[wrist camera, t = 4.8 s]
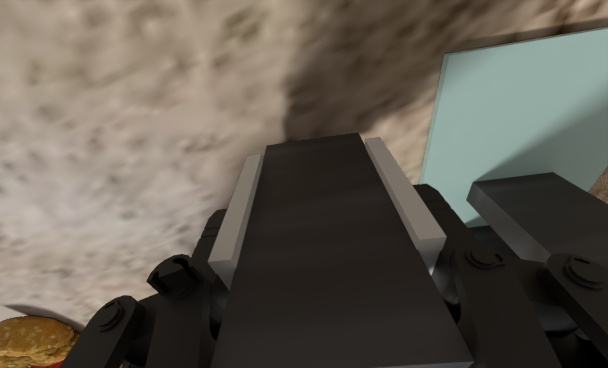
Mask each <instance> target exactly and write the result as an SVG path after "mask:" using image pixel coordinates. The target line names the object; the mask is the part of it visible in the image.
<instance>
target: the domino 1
mask: <svg viewBox="0 0 608 368" xmlns="http://www.w3.org/2000/svg"><path fill="white" fill-rule="evenodd" d="M474 362H475V361H474V359H473V357H472V355H471V353H470V351H469V349H468V347H467V345H466V343H465V341H464V339H463V337H462V335H461V333H460V331H459V329H458V327H457V326H456V324H455V322H454V320H453V318H452V316H451V314H450V312H449V310H448V308H447V306H446V304H445V302H444V300H443V298H442V296H441V294H440V292H439V290H438V288H437V286H436V284H435V282H434V280H433V278H432V276H431V274H430V272H429V271H428V269H427V267H426V265H425V263H424V261H423V259H422V257H421V255H420V253H419V251H418V250H417V249H416V247H415V245H414V243H413V241H412V239H411V237H410V235H409V233H408V231H407V229H406V227H405V225H404V223H403V221H402V219H401V217H400V215H399V213H398V211H397V209H396V207H395V205H394V204H393V202H392V200H391V198H390V196H389V194H388V192H387V190H386V188H385V186H384V184H383V182H382V180H381V178H380V176H379V174H378V172H377V170H376V168H375V166H374V164H373V162H372V160H371V158H370V156H369V154H368V152H367V150H366V148H365V145H364V143H363V141H362V139H361V137H360V135H359V133H351V134H344V135H337V136H330V137H323V138H316V139H309V140H302V141H295V142H288V143H282V144H275V145H268V146H267V147H266V151H265V155H264V159H263V164H262V168H261V172H260V176H259V180H258V184H257V188H256V192H255V196H254V200H253V204H252V208H251V212H250V216H249V220H248V224H247V228H246V232H245V235H244V239H243V243H242V247H241V251H240V255H239V259H238V263H237V267H236V268H235V272H234V276H233V279H232V283H231V287H230V291H229V295H228V299H227V303H226V307H225V311H224V315H223V318H222V322H221V326H220V330H219V334H218V338H217V342H216V346H215V350H214V353H213V357H212V361H211V365H210V368H468V367H469V366H470V365H471V364H472V363H474Z"/></svg>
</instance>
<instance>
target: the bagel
mask: <svg viewBox="0 0 608 368" xmlns="http://www.w3.org/2000/svg"><path fill="white" fill-rule="evenodd" d="M79 336H80V334H79V333H77V332H73V329H72V328H71V326H69V325H66V324H64V323H62V322H60V321H57V320H55V319H51V318H45V317H37V316H24V317H15V318H10V319H6V320H4V321H1V322H0V368H26V367H28V366H49V365H52V364H54V363H57V362H60V361H62V360H64V359H65V358H66V356H67V354H68V353H69V351H70V350H71V348H72V347H73V345H74V344H75V342H76V341H77V339H78V338H79Z"/></svg>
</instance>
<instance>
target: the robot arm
mask: <svg viewBox="0 0 608 368" xmlns="http://www.w3.org/2000/svg"><path fill="white" fill-rule="evenodd" d="M365 148H366V150H367V152H368V154H369V156H370V158H371V160H372V162H373V164H374V166H375V168H376V170H377V172H378V174H379V176H380V178H381V180H382V182H383V184H384V186H385V188H386V190H387V192H388V194H389V196H390V198H391V200H392V202H393V204H394V205H395V207H396V209H397V211H398V213H399V215H400V217H401V219H402V221H403V223H404V225H405V227H406V229H407V231H408V233H409V235H410V237H411V239H412V241H413V243H414V245H415V247H416V249H417V250H418V251H419V253H420V255H421V257H422V259H423V261H424V263H425V265H426V267H427V269H428V271H429V272H430V274H431V276H432V278H433V280H434V282H435V284H436V286H437V288H438V290H439V292H440V294H441V296H442V298H443V300H444V302H445V304H446V306H447V308H448V310H449V312H450V314H451V316H452V318H453V320H454V322H455V324H456V326H457V327H458V329H459V331H460V333H461V335H462V337H463V339H464V341H465V343H466V345H467V347H468V349H469V351H470V353H471V355H472V357H473V359H474V361H475V362H474V363H472V364H471V365H470V366H469V367H468V368H608V270H607V269H606V268H604V267H603V266H602V265H600V264H598V263H596V262H594V261H592V260H589V259H587V258H585V257H581V256H578V255H574V254H568V253H557V254H553V255H551V256H550V257H549V258H548V259H547V260H546V261H545V263H544V262H537V261H531V260H525V259H519V258H513V257H508V256H505V255H504V254H503V253H502V252H501V251H499V250H498V249H497V248H495V247H493V246H491V245H489V244H487V243H485V242H480V241H478V240H477V239H476V237H475V236H474V235H473V234H472V232H471V231H470V230H469V229H468V227H467V226H466V225H465V224H464V222H463V221H462V220H461V219H460V217H459V216H458V215H457V214H456V212H455V211H454V210H453V209H451V206H450V205H449V204H448V202H447V201H445V199H444V197H443V196H442V195H441V194H440V192H439V191H438V190H436V189H435V188H433V187H432V186H430V185H428V184H427V183H426V184H418V185H412V184H411V183H410V181H409V180H408V178H407V177H406V175H405V174H404V172H403V171H402V169H401V168H400V166H399V165H398V163H397V162H396V160H395V159H394V157H393V156H392V154H391V153H390V151H389V150H388V148H387V147H386V145H385V144H384V142H383V141H382V139H381V138H380V137H376V138H369V139H365ZM262 164H263V158H262V155H261V154H257V155H250V156H247V159H246V162H245V164H244V167H243V170H242V172H241V175H240V177H239V180H238V183H237V185H236V188H235V191H234V193H233V196H232V199H231V201H230V204H229V207H228V209H222V210H216V212H215V213H214V214H213V215H212V216H211V217H210V218H209V219H208V222H207V224H206V226H205V228H204V229H205V230H203V233H202V235H201V239H199V241H198V244H197V246H196V248H195V250H194V252H193V255H192V257H191V258H190V257H189V256H188V255H184V254H180V255H174V256H172V257H170V258H168V259H166V260H164V261H163V262H161V263H160V264H159V265H158V266H157V267H156V268H155V269H154V270H153V271H152V272H151V273H150V275H149V277H148V279H147V281H146V282H148V283H149V284H150V285H151V286H152V287H153V288H154V289H155V290H156V291H157V292H159V293H157V294H155V295H152V296H150V297H147V298H145V299H142V300H140V301H137V300H135V299H134V298H133V297H131V296H126V295H124V296H121V297H117V298H115V299H113V300H111V301H110V302H108V303H106V304H105V305H104V306H103V307H102V308H101V309H99V310H98V311H97V312H96V314H95V315H94V316H93V317H92V319H91V320H90V321H89V323H88V324H87V326H86V327H85V329H84V330H83V332H82V333H81V335H80V336H79V338H78V339H77V341H76V342H75V344H74V345H73V347H72V348H71V350H70V351H69V353H68V354H67V356H66V358H65V359H64V361H63V362H62V364H61V365H60V367H59V368H120V366H121V364H122V362H123V360H125V361H126V363H125V364H124V366H123V367H122V368H210V365H211V361H212V357H213V353H214V350H215V346H216V342H217V338H218V334H219V330H220V326H221V322H222V318H223V315H224V311H225V307H226V303H227V299H228V295H229V291H230V287H231V283H232V279H233V276H234V272H235V268H236V267H237V263H238V259H239V255H240V251H241V247H242V243H243V239H244V235H245V232H246V228H247V224H248V220H249V216H250V212H251V208H252V204H253V200H254V196H255V192H256V188H257V184H258V180H259V176H260V172H261V168H262ZM579 328H580V329H581V330H582V331H583V332H582V331H581V330H580V329H579Z"/></svg>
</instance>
